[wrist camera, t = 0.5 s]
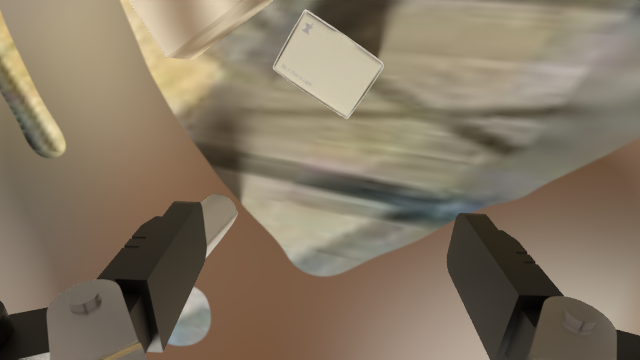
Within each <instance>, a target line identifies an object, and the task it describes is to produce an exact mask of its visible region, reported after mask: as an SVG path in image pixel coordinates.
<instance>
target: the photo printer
mask: <svg viewBox="0 0 640 360" xmlns="http://www.w3.org/2000/svg"><path fill="white" fill-rule="evenodd" d="M200 203H201V205H202V208H203V216H204V224H205V233H206V241H207V253H206V257H207V256H208V255H209V254H210V252H211V251H212V250H213V249H214V248H215V246H216V245H217V244H218V243H219V241H220V240H221V239H222V237H223V236H224V235H225V233H226V232H227V231H228V229H229V228H230V227H231V225H232V224H233V222H234V220H235V219H236V217H237V215H238V211H236V206H235V204H234V203H233V201H232V200H230V199H229V198H228V197H226V196H224V195H220V194H218V195H216V194H215V193H213V194H211V195H210V196H208V197H207V198H206V199H204V200H203V201H202V202H200Z"/></svg>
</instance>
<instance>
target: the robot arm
mask: <svg viewBox="0 0 640 360" xmlns="http://www.w3.org/2000/svg"><path fill="white" fill-rule="evenodd" d="M206 253H207V241H206V233H205V224H204V216H203V208H202V205H201V203H200V202H182V201H175V202H173V203H172V205H171V206H170V207H169V209H168V210H167V211H166V213H165V214H164V215H163V216H162V217H159V216H158V217H157V216H156V217H154V218H152V219H151V220H149V221H148V222H146V223H144V224H143V225H141V226H140V228H139V229H138V230H137V231H136V233H135V234H134V235H133V236H132V239H130V240H129V241H128V242H127V243H126V244H125V246H124V248H122V249H121V250H120V252H119V253H118V254H117V255H116V256H115V258H114V259H113V260H112V261H111V262H110V263H109V265H108V266H107V267H106V268H105V269H104V271H103V272H102V273H101V274H100V275H99V277H98V278H97V279H96V280H90V281H86V282H83V283H79V284H77V285H75V286H72V287H70V288H68V289H67V290H65V291H63V292H62V293H61V294H59V295H58V296H57V297H56V298H55V299H54V300H53V301H52V302H51V303H50V305H49V307H47V308H43V309H38V310H32V311H27V312H22V313H17V314H11V315H8V313H7V311H6V309H5V307H4V305H3V303H2V302H1V301H0V360H147V358H146V356H145V354H146V352H163V351H164V349H165V347H166V344H167V342H168V340H169V338H170V336H171V334H172V331H173V329H174V327H175V325H176V323H177V321H178V319H179V316H180V314H181V312H182V310H183V308H184V306H185V303H186V301H187V299H188V297H189V295H190V293H191V291H192V288H193V286H194V284H195V282H196V280H197V277H198V275H199V273H200V271H201V269H202V267H203V265H204V262H205V258H206ZM447 268H448V271H449V274H450V276H451V278H452V281H453V283H454V285H455V287H456V289H457V291H458V293H459V295H460V297H461V299H462V302H463V303H464V306H465V308H466V310H467V312H468V314H469V316H470V318H471V320H472V323H473V324H474V327H475V329H476V331H477V333H478V335H479V337H480V339H481V341H482V343H483V346H484V348H485V350H486V352H487V354H488V356H489V358H490V360H640V336H639V335H635V334H631V333H628V332H624V331H620V330H616V329H615V327H614V326H613V324H612V323H611V321H610V320H609V319H608V318H607V317H606V316H605V315H604V314H602V313H601V312H599V311H598V310H597V309H595V308H594V307H592V306H590V305H588V304H586V303H584V302H582V301H579V300H577V299H573V298H570V297H564V295H563V294H562V293H561V292H560V291H559V289H558V288H557V287H556V286H555V285H554V284H553V282H552V281H551V280H550V279H549V278H548V276H547V275H546V274H545V273H544V272H543V270H542V269H541V268H540V267H539V266H538V265H536V264H535V261H534V260H533V258H532V257H531V256H530V255H528V254H527V251H526V250H525V249H524V248H523V247H522V245H521V244H520V243H519V242H518V241H517V240H516V239H514V238H513V237H511V236H510V235H508V234H507V233H506V232H504V231H502V230H498V229H497V228H496V226H495V225H494V224H493V223H492V221H491V220H490V219H489V218H488V216H487V215H485V214H471V213H460V214H458V216H457V217H456V220H455V225H454V228H453V233H452V237H451V241H450V245H449V249H448V254H447Z"/></svg>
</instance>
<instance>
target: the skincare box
mask: <svg viewBox="0 0 640 360" xmlns="http://www.w3.org/2000/svg"><path fill="white" fill-rule="evenodd" d="M383 68H384V63H383V62H382V61H381V60H379V59H378V58H377V57H375V56H374V55H373V54H371V53H370V52H368V51H367V50H366V49H364V48H363V47H361V46H360V45H359V44H357V43H356V42H355V41H353V40H352V39H350V38H349V37H348V36H346V35H345V34H343V33H342V32H340V31H339V30H337V29H336V28H334V27H333V26H331V25H330V24H328V23H327V22H325V21H324V20H322V19H321V18H319V17H318V16H316V15H314V14H313V13H311V12H310V11H309V10H307V9H305V10H304V11H303V13H302V15H301V16H300V18H299V20H298V21H297V23H296V25H295V27H294V28H293V30H292V32H291V34H290V35H289V37H288V39H287V40H286V42H285V44H284V46H283V47H282V49H281V51H280V53H279V55H278V57H277V59H276V61H275V63H274V65H273V69H274V70H275V71H276V72H277V73H279V74H280V75H281V76H283V77H284V78H285V79H287V80H288V81H290V82H291V83H292V84H294V85H295V86H297V87H298V88H299V89H301V90H302V91H304V92H305V93H307V94H308V95H310V96H311V97H313V98H314V99H316V100H317V101H319V102H320V103H322V104H324V105H325V106H327V107H328V108H330V109H331V110H333V111H334V112H336V113H337V114H339V115H341V116H342V117H344V118H346V119H348V118H349V117H350V115H351V114H352V112H353V111H354V110H355V108H356V107H357V105H358V104H359V103H360V101H361V100H362V99H363V97H364V96H365V94H366V93H367V92H368V90H369V89H370V87H371V86H372V84H373V83H374V81H375V80H376V78H377V77H378V76H379V74H380V72H381V71H382V69H383Z"/></svg>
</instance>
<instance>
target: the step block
mask: <svg viewBox="0 0 640 360" xmlns="http://www.w3.org/2000/svg"><path fill="white" fill-rule="evenodd" d="M128 1H129V3H130V4H131V6H132V7H133V9H134V10H135V12H136V13H137V15H138V16H139V18H140V19H141V21H142V22H143V24H144V25H145V27H146V28H147V30H148V31H149V33H150V34H151V36H152V37H153V39H154V40H155V42H156V43H157V45H158V46H159V48H160V49H161V51H162V52H163V54H164V55H165V57H166V58H176V59H186V60H194V59H195V58H196V57H198V56H199V55H201V54H202V53H203V52H205V51H206V50H207V49H209V48H210V47H211V46H213V45H214V44H215V43H217V42H218V41H219V40H221V39H222V38H224V37H225V36H226V35H228V34H229V33H230V32H232V31H233V30H234V29H236V28H237V27H238V26H240V25H241V24H242V23H244V22H245V21H247V20H248V19H249V18H251V17H252V16H253V15H255V14H256V13H257V12H259V11H260V10H261V9H263V8H264V7H266V6H267V5H268V4H270V3H271V2H272V1H274V0H128Z"/></svg>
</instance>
